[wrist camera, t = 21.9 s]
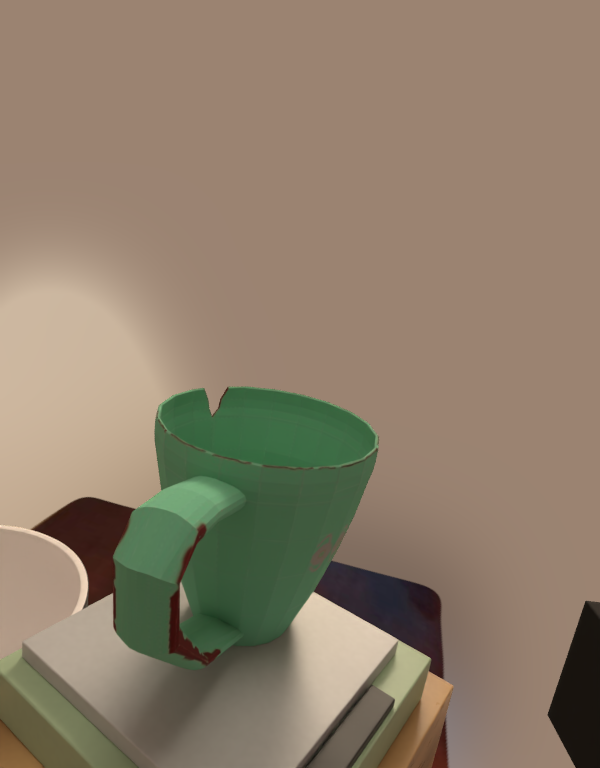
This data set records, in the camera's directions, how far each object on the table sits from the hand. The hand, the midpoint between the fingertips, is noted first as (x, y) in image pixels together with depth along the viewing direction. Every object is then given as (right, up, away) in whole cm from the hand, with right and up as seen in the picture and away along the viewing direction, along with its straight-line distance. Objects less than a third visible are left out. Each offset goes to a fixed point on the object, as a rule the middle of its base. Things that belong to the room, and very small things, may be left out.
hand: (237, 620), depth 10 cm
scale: (-2, -10, +15) cm, 18 cm away
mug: (-2, -7, +14) cm, 16 cm away
